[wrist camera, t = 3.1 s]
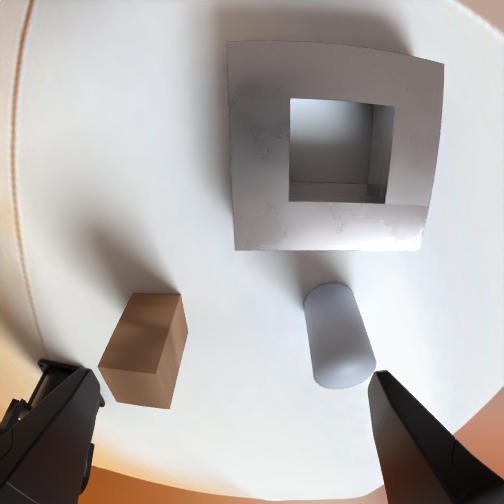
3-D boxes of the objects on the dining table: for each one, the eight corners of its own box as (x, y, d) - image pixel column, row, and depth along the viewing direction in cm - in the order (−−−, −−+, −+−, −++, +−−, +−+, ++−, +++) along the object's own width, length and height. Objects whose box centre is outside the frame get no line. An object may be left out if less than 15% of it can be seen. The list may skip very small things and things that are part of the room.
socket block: (238, 225, 19) (234, 250, 16) (232, 48, 14) (226, 41, 11) (400, 226, 18) (419, 250, 16) (417, 64, 13) (444, 63, 11)
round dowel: (301, 323, 23) (310, 390, 17) (305, 283, 21) (317, 351, 16) (349, 322, 22) (367, 386, 17) (358, 282, 21) (383, 347, 15)
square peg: (143, 329, 23) (117, 402, 17) (133, 293, 22) (97, 366, 16) (188, 332, 23) (169, 409, 17) (180, 294, 22) (155, 374, 15)
